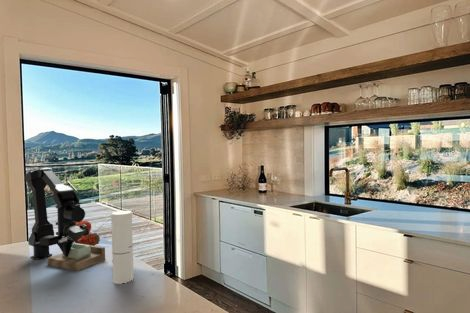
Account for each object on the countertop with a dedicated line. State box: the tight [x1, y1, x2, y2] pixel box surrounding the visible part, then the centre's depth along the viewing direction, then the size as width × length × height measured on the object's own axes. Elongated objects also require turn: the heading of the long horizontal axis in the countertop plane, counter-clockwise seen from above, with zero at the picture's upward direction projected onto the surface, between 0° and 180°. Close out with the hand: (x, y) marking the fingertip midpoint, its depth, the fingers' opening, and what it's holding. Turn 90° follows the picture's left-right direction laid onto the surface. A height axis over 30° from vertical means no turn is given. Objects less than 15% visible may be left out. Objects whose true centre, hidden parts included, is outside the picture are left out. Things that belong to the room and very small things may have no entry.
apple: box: [74, 220, 92, 243], centre depth 168 cm, size 11×11×12 cm
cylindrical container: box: [110, 210, 134, 285], centre depth 117 cm, size 7×7×25 cm
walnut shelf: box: [47, 243, 106, 272], centre depth 138 cm, size 18×14×6 cm
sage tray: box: [63, 242, 91, 259], centre depth 137 cm, size 10×6×4 cm, turn 64°
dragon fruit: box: [75, 231, 101, 246], centre depth 157 cm, size 8×8×12 cm
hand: (66, 256), depth 133 cm, fingers closed
